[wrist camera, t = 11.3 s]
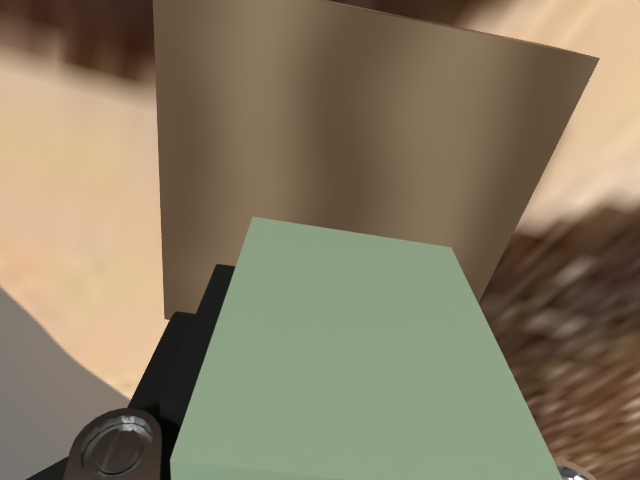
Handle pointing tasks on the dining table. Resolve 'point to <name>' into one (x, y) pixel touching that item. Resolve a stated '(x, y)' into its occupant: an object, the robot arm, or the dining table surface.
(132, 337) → the dining table surface
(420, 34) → the walnut block
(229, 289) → the green cube
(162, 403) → the robot arm
